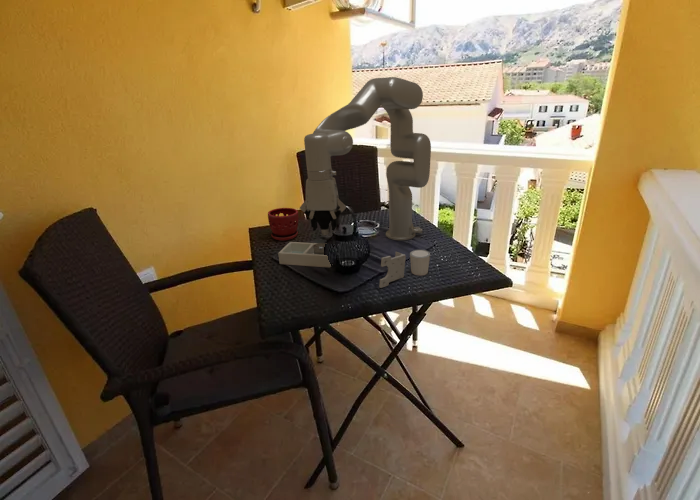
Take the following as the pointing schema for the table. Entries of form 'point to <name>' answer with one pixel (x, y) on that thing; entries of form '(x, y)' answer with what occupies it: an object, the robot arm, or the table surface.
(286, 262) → the box
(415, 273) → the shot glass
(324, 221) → the light bulb
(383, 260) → the bracket
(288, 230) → the plant pot
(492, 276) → the table surface
